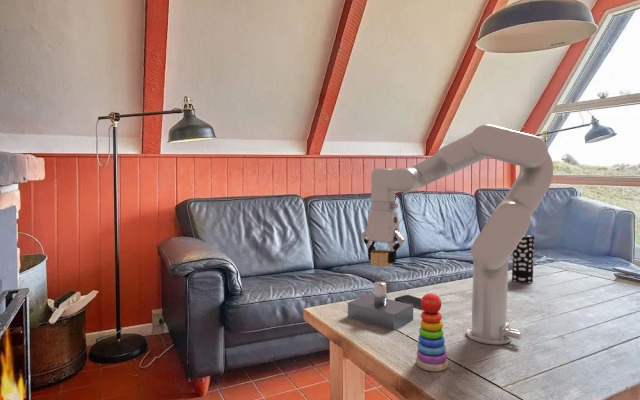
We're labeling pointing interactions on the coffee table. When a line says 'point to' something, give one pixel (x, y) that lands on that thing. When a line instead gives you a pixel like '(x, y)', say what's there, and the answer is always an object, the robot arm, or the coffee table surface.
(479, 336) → the robot arm
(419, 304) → the phone
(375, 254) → the bronze ring
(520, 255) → the spotted tube
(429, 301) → the stacking toy
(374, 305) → the grey peg board
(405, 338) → the coffee table surface
